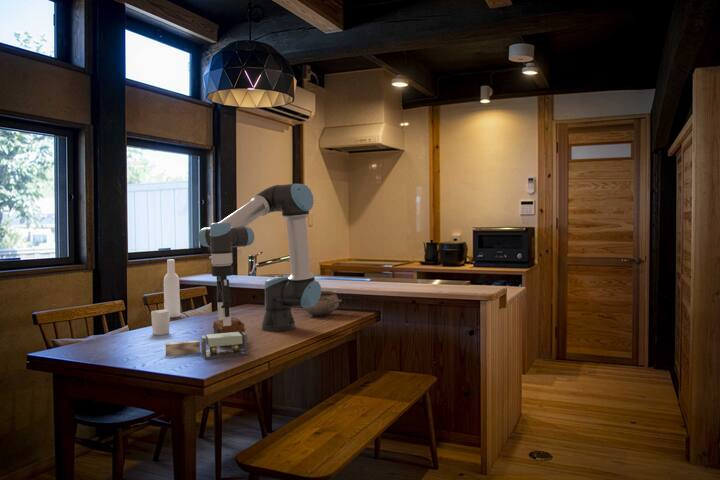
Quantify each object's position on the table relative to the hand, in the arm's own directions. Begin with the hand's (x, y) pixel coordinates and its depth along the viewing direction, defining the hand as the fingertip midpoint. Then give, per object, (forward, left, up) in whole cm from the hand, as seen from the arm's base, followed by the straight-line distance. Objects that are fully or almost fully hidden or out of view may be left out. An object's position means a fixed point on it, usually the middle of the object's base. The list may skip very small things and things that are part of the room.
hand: (224, 322), depth 213 cm
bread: (-4, -22, -12) cm, 25 cm away
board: (0, 0, -8) cm, 8 cm away
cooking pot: (-58, -68, -12) cm, 90 cm away
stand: (+14, -8, -12) cm, 20 cm away
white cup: (+20, -54, -12) cm, 59 cm away
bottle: (+13, -104, -12) cm, 105 cm away
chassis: (0, 0, -12) cm, 12 cm away
